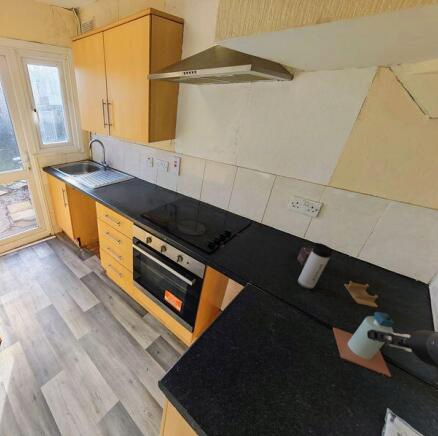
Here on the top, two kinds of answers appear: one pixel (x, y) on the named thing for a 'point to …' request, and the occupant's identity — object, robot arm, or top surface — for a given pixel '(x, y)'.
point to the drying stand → (361, 294)
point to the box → (304, 255)
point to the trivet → (346, 353)
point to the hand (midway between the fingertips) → (386, 339)
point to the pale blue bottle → (360, 340)
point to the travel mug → (314, 265)
